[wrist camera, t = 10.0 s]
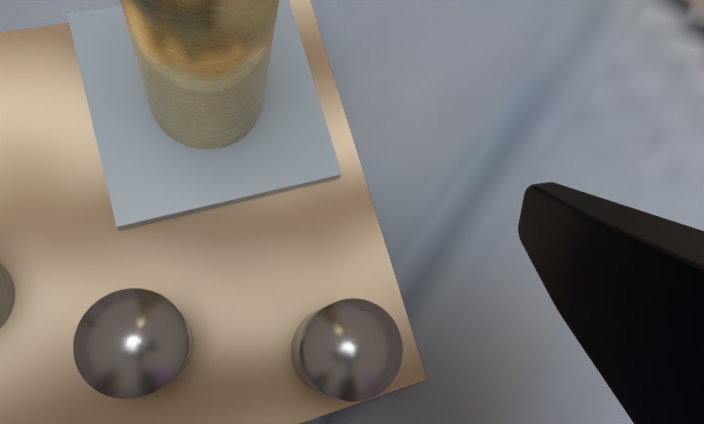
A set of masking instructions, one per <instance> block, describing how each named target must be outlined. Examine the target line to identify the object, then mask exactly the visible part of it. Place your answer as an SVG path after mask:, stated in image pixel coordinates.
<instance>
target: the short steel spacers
mask: <svg viewBox="0 0 704 424" xmlns="http://www.w3.org/2000/svg"><path fill="white" fill-rule="evenodd" d="M14 302H15V286H14V282H13V279H12V277H11V275H10V273H9V272H8V270H7V269H6V268H5V267H4V266H3V265H2V264H1V263H0V328H1V327H2V326H3V325H4V324H5V322H6V321H7V319H8V318H9V316H10V314H11V312H12V309H13V306H14ZM192 346H193V337H192V332H191V329H190V326H189V324H188V322H187V320H186V318H185V317H184V316H183V314H182V313H181V312H180V311H179V310H178V309H177V308H176V306H175V305H174V304H173V303H172V302H171V301H169V300H168V299H167V298H165V297H164V296H162V295H161V294H158V293H156V292H154V291H151V290H147V289H141V288H129V289H123V290H118V291H115V292H112V293H110V294H108V295H106V296H104V297H102V298H101V299H99V300H98V301H97V302H95V303H94V304H93V305H92V306H91V307H90V308H89V309H88V310H87V311H86V313H85V314H84V315H83V317H82V319H81V320H80V322H79V324H78V326H77V329H76V332H75V336H74V341H73V354H74V360H75V364H76V367H77V369H78V371H79V373H80V375H81V376H82V378H83V379H84V380H85V381H86V382H87V384H88V385H90V386H91V387H92V388H93V389H95V390H96V391H98V392H99V393H101V394H104V395H106V396H109V397H112V398H118V399H134V398H139V397H143V396H146V395H149V394H151V393H153V392H155V391H157V390H159V389H161V388H162V387H164V386H166V385H168V384H169V383H171V382H172V381H174V380H175V379H176V378H177V377H178V376H179V375H180V374H181V373H182V372H183V370H184V369H185V367H186V365H187V363H188V362H189V359H190V356H191V352H192ZM402 356H403V344H402V338H401V334H400V332H399V329H398V327H397V325H396V323H395V321H394V320H393V318H392V317H391V316H390V315H389V314H388V313H387V312H386V311H385V310H384V309H383V308H381V307H380V306H378V305H377V304H375V303H373V302H370V301H367V300H364V299H356V298H351V299H344V300H340V301H337V302H334V303H332V304H330V305H328V306H326V307H323V308H321V309H319V310H317V311H315V312H313V313H311V314H310V315H308V316H307V317H306V318H305V319H304V320H303V321H302V322H301V323H300V325H299V326H298V328H297V329H296V331H295V333H294V336H293V339H292V344H291V358H292V363H293V366H294V369H295V371H296V373H297V374H298V376H299V377H300V379H301V380H302V381H303V382H304V383H305V384H306V385H307V386H309V387H310V388H312V389H313V390H315V391H318V392H320V393H323V394H326V395H328V396H331V397H334V398H337V399H340V400H343V401H350V402H357V401H364V400H368V399H371V398H373V397H375V396H377V395H379V394H380V393H382V392H383V391H384V390H386V389H387V388H388V387H389V385H390V384H391V383H392V382H393V380H394V379H395V377H396V375H397V374H398V371H399V369H400V366H401V362H402Z"/></svg>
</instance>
